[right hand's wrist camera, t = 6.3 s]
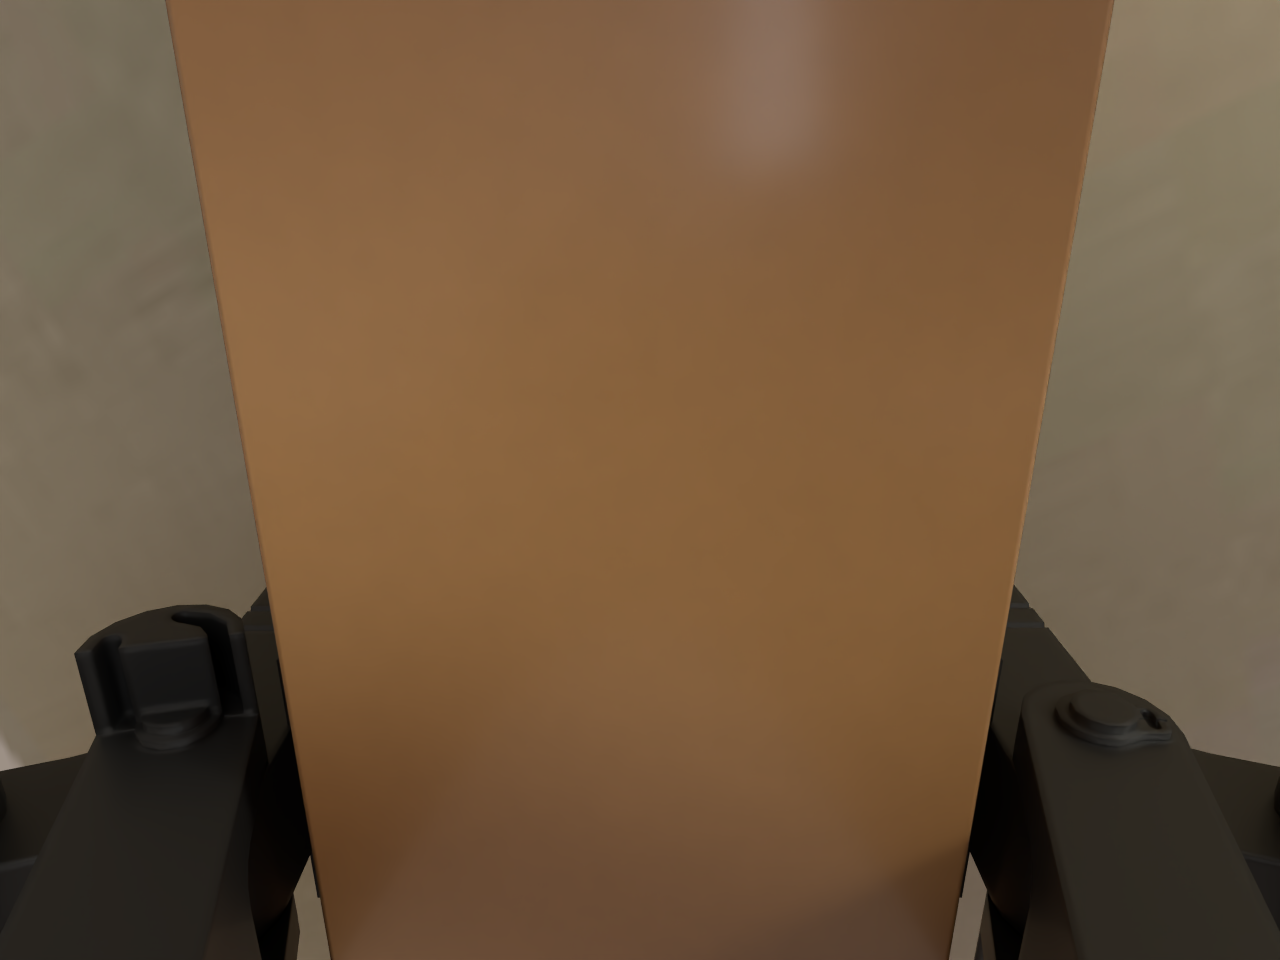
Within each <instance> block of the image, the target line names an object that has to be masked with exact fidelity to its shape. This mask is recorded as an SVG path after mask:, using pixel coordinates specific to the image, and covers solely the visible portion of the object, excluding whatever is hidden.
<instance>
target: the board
mask: <svg viewBox="0 0 1280 960" xmlns="http://www.w3.org/2000/svg"><path fill="white" fill-rule="evenodd" d="M165 1H166V7H167V13H168V18H169V24H170V30H171V36H172V42H173V47H174V53H175V59H176V65H177V71H178V76H179V82H180V88H181V94H182V100H183V105H184V111H185V117H186V123H187V129H188V134H189V140H190V146H191V152H192V158H193V163H194V169H195V175H196V181H197V187H198V192H199V198H200V204H201V210H202V216H203V221H204V227H205V233H206V239H207V245H208V250H209V256H210V262H211V268H212V273H213V279H214V285H215V291H216V297H217V302H218V308H219V314H220V320H221V326H222V331H223V337H224V343H225V349H226V355H227V360H228V366H229V372H230V378H231V384H232V389H233V395H234V401H235V407H236V413H237V418H238V424H239V430H240V436H241V442H242V447H243V453H244V459H245V465H246V471H247V476H248V482H249V488H250V494H251V500H252V505H253V511H254V517H255V523H256V528H257V534H258V540H259V546H260V552H261V557H262V563H263V569H264V575H265V581H266V586H267V592H268V598H269V604H270V610H271V615H272V621H273V627H274V633H275V639H276V644H277V650H278V656H279V662H280V668H281V673H282V679H283V685H284V691H285V697H286V702H287V708H288V714H289V720H290V726H291V731H292V737H293V743H294V749H295V755H296V760H297V766H298V772H299V778H300V783H301V789H302V795H303V801H304V807H305V812H306V818H307V824H308V830H309V836H310V841H311V847H312V853H313V859H314V865H315V870H316V876H317V882H318V888H319V894H320V899H321V905H322V911H323V917H324V923H325V928H326V934H327V940H328V946H329V952H330V957H331V960H949V955H950V949H951V943H952V938H953V932H954V926H955V920H956V914H957V909H958V903H959V897H960V891H961V885H962V880H963V874H964V868H965V862H966V856H967V851H968V845H969V839H970V833H971V828H972V822H973V816H974V810H975V804H976V799H977V793H978V787H979V781H980V775H981V770H982V764H983V758H984V752H985V746H986V741H987V735H988V729H989V723H990V717H991V712H992V706H993V700H994V694H995V689H996V683H997V677H998V671H999V665H1000V660H1001V654H1002V648H1003V642H1004V636H1005V631H1006V625H1007V619H1008V613H1009V607H1010V602H1011V596H1012V590H1013V584H1014V578H1015V573H1016V567H1017V561H1018V555H1019V549H1020V544H1021V538H1022V532H1023V526H1024V521H1025V515H1026V509H1027V503H1028V497H1029V492H1030V486H1031V480H1032V474H1033V468H1034V463H1035V457H1036V451H1037V445H1038V439H1039V434H1040V428H1041V422H1042V416H1043V410H1044V405H1045V399H1046V393H1047V387H1048V381H1049V376H1050V370H1051V364H1052V358H1053V353H1054V347H1055V341H1056V335H1057V329H1058V324H1059V318H1060V312H1061V306H1062V300H1063V295H1064V289H1065V283H1066V277H1067V271H1068V266H1069V260H1070V254H1071V248H1072V242H1073V237H1074V231H1075V225H1076V219H1077V213H1078V208H1079V202H1080V196H1081V190H1082V185H1083V179H1084V173H1085V167H1086V161H1087V156H1088V150H1089V144H1090V138H1091V132H1092V127H1093V121H1094V115H1095V109H1096V103H1097V98H1098V92H1099V86H1100V80H1101V74H1102V69H1103V63H1104V57H1105V51H1106V45H1107V40H1108V34H1109V28H1110V22H1111V17H1112V11H1113V5H1114V0H165Z"/></svg>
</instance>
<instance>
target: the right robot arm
mask: <svg viewBox="0 0 1280 960" xmlns="http://www.w3.org/2000/svg"><path fill="white" fill-rule="evenodd" d="M74 655H75V658H76V662H77V666H78V670H79V673H80V677H81V681H82V684H83V688H84V692H85V695H86V699H87V703H88V707H89V710H90V714H91V718H92V721H93V725H94V729H95V733H96V737H95V739H94V741H93V743H92V745H91V747H90V749H89V751H88V753H86V754H82V755H78V756H74V757H70V758H65V759H60V760H55V761H50V762H45V763H40V764H35V765H30V766H25V767H19V768H14V769H9V770H4V771H0V960H297V952H298V944H299V935H300V929H299V923H298V916H297V910H296V905H295V899H294V894H293V892H294V890H295V887H296V885H297V883H298V881H299V878H300V876H301V874H302V872H303V870H304V867H305V865H306V863H307V861H308V858H309V856H311V862H312V868H313V874H314V879H315V885H316V891H317V897H318V898H320V894H319V888H318V882H317V876H316V870H315V865H314V859H313V853H312V847H311V841H310V836H309V830H308V824H307V818H306V812H305V807H304V801H303V795H302V789H301V783H300V778H299V772H298V766H297V760H296V755H295V749H294V743H293V737H292V731H291V726H290V720H289V714H288V708H287V702H286V697H285V691H284V685H283V679H282V673H281V668H280V662H279V656H278V650H277V644H276V639H275V633H274V627H273V621H272V615H271V610H270V604H269V598H268V592H267V587H266V588H265V590H264V591H263V592H262V594H261V595H260V596H259V597H258V599H257V600H256V601H255V602H254V604H253V605H252V606H251V611H247V613H246V614H245V615H244V616H243V618H242V619H241V618H240V617H238V616H237V615H236V614H234V613H233V612H232V611H230V610H229V609H224V608H220V607H215V606H210V605H177V606H172V607H166V608H161V609H156V610H151V611H146V612H143V613H140V614H137V615H135V616H132V617H129V618H126V619H123V620H121V621H118V622H115V623H113V624H112V625H110V626H108V627H107V628H105V629H103V630H101V631H100V632H98V633H96V634H94V635H93V636H91V637H90V638H89V639H88V640H87V641H86V642H85V643H84V644H83V645H82V646H81V647H80V648H79V649H78V650H77V651H76V652H75V653H74ZM969 853H971V855H972V857H973V859H974V862H975V864H976V866H977V868H978V871H979V873H980V875H981V877H982V880H983V882H984V884H985V886H986V888H987V894H986V899H985V905H984V910H983V915H982V921H981V926H980V931H979V937H978V942H977V947H976V953H975V958H974V960H1280V767H1276V766H1271V765H1266V764H1261V763H1256V762H1251V761H1246V760H1241V759H1235V758H1230V757H1225V756H1220V755H1215V754H1210V753H1206V752H1202V751H1198V750H1195V749H1191V748H1190V746H1189V744H1188V742H1187V739H1186V737H1185V735H1184V734H1183V732H1182V731H1181V730H1180V729H1179V727H1178V726H1177V725H1176V724H1175V722H1174V721H1173V720H1172V719H1171V718H1170V716H1168V715H1167V714H1166V713H1164V712H1163V711H1161V710H1160V709H1158V708H1157V707H1155V706H1154V705H1152V704H1151V703H1149V702H1148V701H1146V700H1145V699H1142V698H1140V697H1138V696H1135V695H1133V694H1130V693H1128V692H1126V691H1123V690H1121V689H1118V688H1116V687H1111V686H1107V685H1102V684H1098V683H1093V682H1091V681H1090V680H1089V678H1088V677H1087V676H1086V675H1085V673H1084V672H1083V671H1082V670H1081V668H1080V667H1079V666H1078V664H1077V663H1076V662H1075V661H1074V659H1073V658H1072V657H1071V656H1070V654H1069V653H1068V652H1067V651H1066V649H1065V648H1064V647H1063V646H1062V644H1061V643H1060V642H1059V641H1058V639H1057V638H1056V637H1055V636H1054V634H1053V633H1052V632H1051V631H1050V629H1049V628H1045V627H1044V622H1043V621H1042V619H1041V618H1040V617H1039V616H1038V614H1037V613H1036V612H1035V611H1034V609H1033V608H1029V603H1028V602H1027V601H1026V599H1025V598H1024V597H1023V596H1022V594H1021V593H1020V592H1019V591H1018V589H1017V588H1016V587H1015V585H1014V584H1013V590H1012V596H1011V602H1010V607H1009V613H1008V619H1007V625H1006V631H1005V636H1004V642H1003V648H1002V654H1001V660H1000V665H999V671H998V677H997V683H996V689H995V694H994V700H993V706H992V712H991V717H990V723H989V729H988V735H987V741H986V746H985V752H984V758H983V764H982V770H981V775H980V781H979V787H978V793H977V799H976V804H975V810H974V816H973V822H972V828H971V833H970V839H969V845H968V851H967V856H966V862H965V868H964V874H963V880H962V885H961V891H960V897H959V898H962V893H963V888H964V882H965V876H966V870H967V865H968V859H969Z"/></svg>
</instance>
